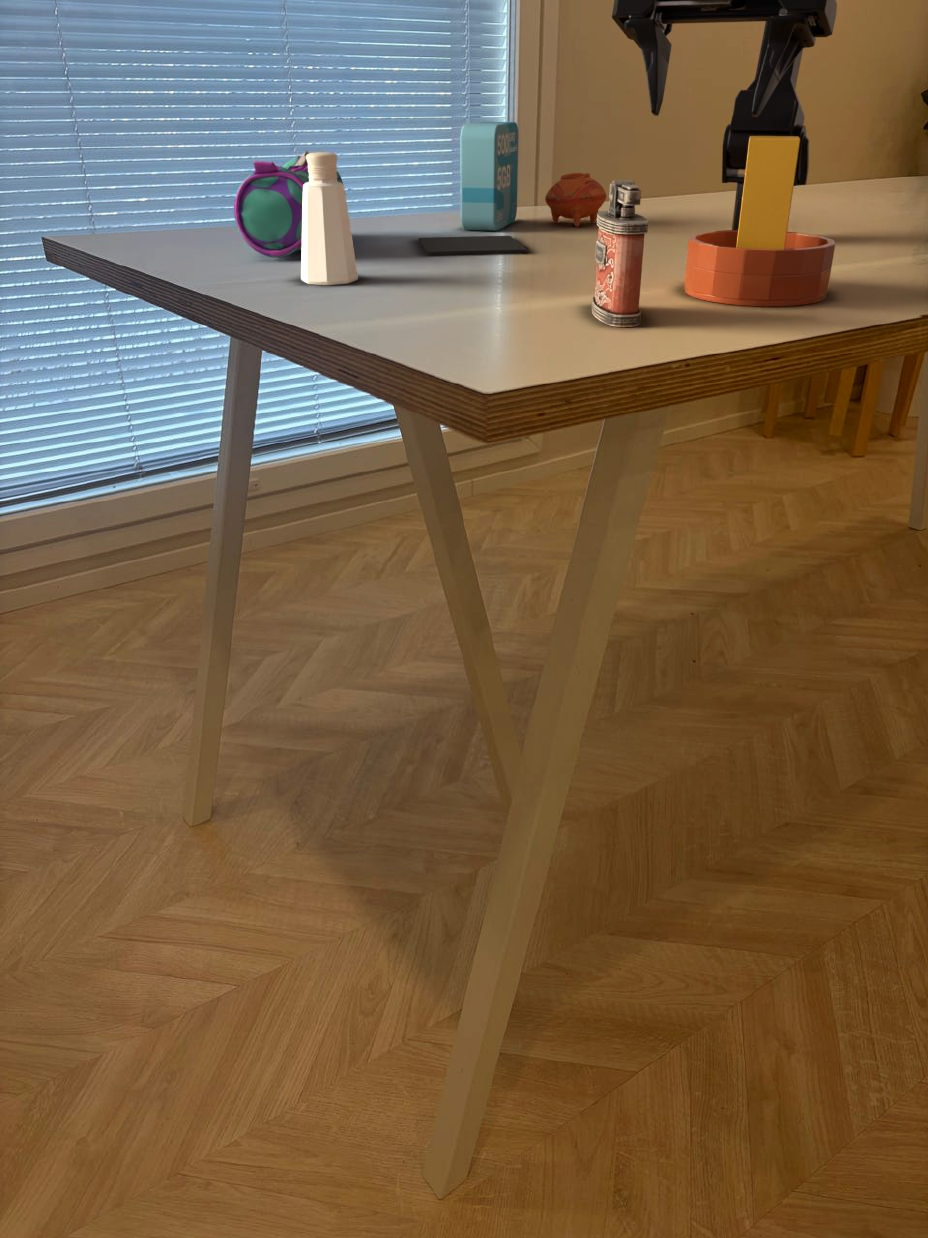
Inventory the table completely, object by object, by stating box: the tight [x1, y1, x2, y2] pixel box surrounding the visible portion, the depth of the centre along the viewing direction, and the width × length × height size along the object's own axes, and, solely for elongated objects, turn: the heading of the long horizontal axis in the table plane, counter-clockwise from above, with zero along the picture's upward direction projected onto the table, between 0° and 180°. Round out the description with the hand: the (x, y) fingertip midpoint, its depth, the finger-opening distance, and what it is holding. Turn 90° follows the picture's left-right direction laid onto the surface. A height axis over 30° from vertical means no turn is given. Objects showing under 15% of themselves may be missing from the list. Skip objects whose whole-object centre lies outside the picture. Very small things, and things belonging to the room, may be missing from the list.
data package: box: [459, 121, 519, 232], centre depth 126 cm, size 12×4×12 cm, turn 164°
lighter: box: [591, 179, 649, 328], centre depth 78 cm, size 8×3×10 cm, turn 5°
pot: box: [544, 172, 608, 228], centre depth 129 cm, size 8×8×7 cm
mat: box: [417, 235, 528, 256], centre depth 113 cm, size 11×11×1 cm
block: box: [736, 136, 800, 249], centre depth 85 cm, size 4×4×12 cm
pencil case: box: [233, 149, 344, 259], centre depth 111 cm, size 21×9×10 cm, turn 178°
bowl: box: [683, 229, 836, 307], centre depth 87 cm, size 12×12×4 cm
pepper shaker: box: [300, 151, 359, 286], centre depth 92 cm, size 5×5×11 cm
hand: (703, 114), depth 90 cm, fingers open, 9 cm apart
